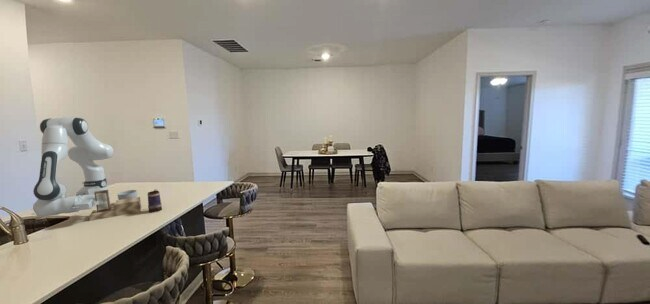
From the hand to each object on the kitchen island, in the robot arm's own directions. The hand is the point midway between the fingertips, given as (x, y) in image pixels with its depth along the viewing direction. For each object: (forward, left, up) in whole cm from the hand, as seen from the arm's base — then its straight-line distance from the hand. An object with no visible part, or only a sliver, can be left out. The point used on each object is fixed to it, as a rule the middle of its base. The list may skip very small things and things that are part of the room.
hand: (104, 199), depth 168 cm
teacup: (-5, +24, -10) cm, 26 cm away
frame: (-1, -1, -7) cm, 7 cm away
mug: (+24, +10, -10) cm, 28 cm away
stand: (+4, +3, -10) cm, 11 cm away
